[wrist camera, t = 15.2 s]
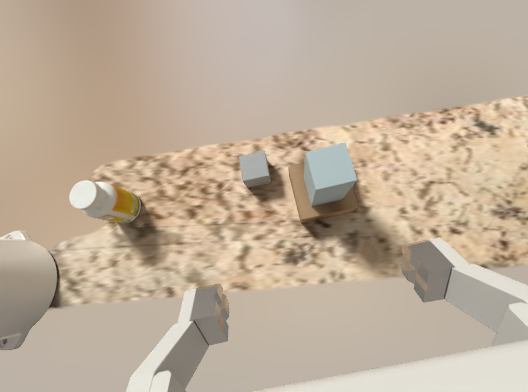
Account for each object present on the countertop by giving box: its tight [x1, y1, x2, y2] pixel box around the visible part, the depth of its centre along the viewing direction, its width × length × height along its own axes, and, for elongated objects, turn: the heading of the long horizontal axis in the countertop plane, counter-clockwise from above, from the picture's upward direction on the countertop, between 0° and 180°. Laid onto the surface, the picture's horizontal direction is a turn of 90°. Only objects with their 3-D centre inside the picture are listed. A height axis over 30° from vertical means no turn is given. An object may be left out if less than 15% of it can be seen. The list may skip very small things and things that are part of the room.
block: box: [239, 151, 271, 188], centre depth 40 cm, size 4×4×4 cm
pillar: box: [304, 143, 357, 206], centre depth 32 cm, size 4×4×9 cm
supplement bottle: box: [70, 181, 141, 223], centre depth 39 cm, size 5×5×10 cm
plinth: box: [288, 163, 359, 223], centre depth 38 cm, size 8×8×4 cm
